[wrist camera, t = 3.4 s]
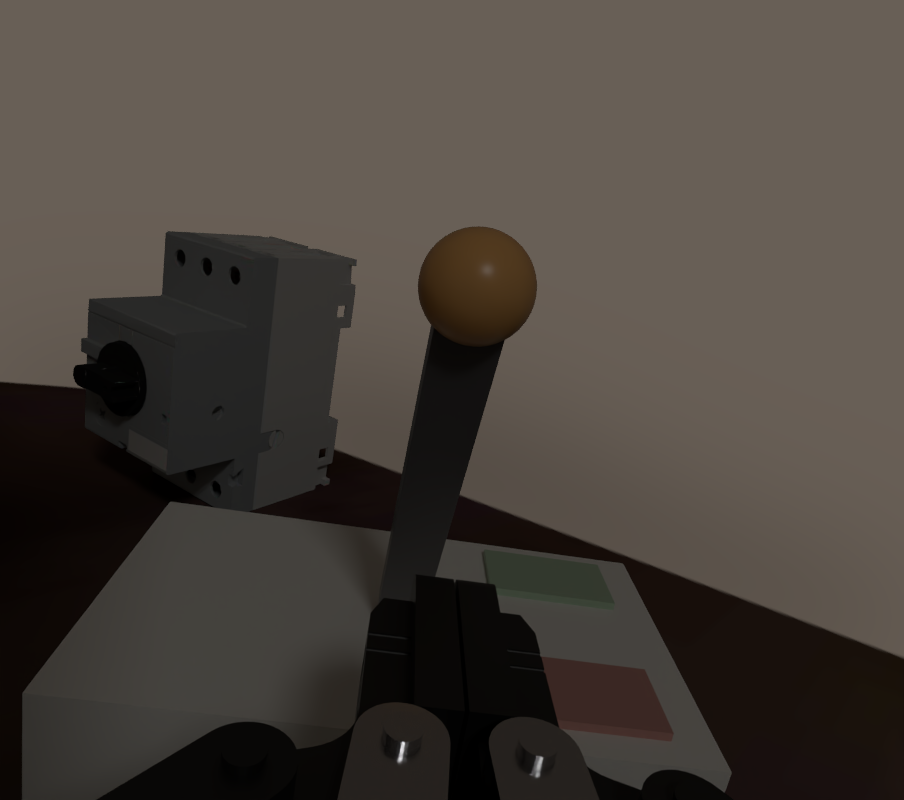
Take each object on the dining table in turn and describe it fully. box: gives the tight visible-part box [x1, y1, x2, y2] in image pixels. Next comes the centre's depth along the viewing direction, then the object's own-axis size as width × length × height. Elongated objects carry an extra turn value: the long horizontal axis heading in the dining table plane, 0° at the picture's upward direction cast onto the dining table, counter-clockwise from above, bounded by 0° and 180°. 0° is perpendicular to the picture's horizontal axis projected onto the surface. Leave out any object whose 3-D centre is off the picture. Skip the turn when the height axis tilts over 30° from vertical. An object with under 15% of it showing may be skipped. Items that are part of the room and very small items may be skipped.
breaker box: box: [22, 502, 732, 800], centre depth 27 cm, size 20×12×6 cm, turn 92°
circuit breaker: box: [73, 231, 357, 512], centre depth 42 cm, size 8×14×15 cm, turn 145°
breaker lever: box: [378, 227, 537, 604], centre depth 20 cm, size 3×3×15 cm
